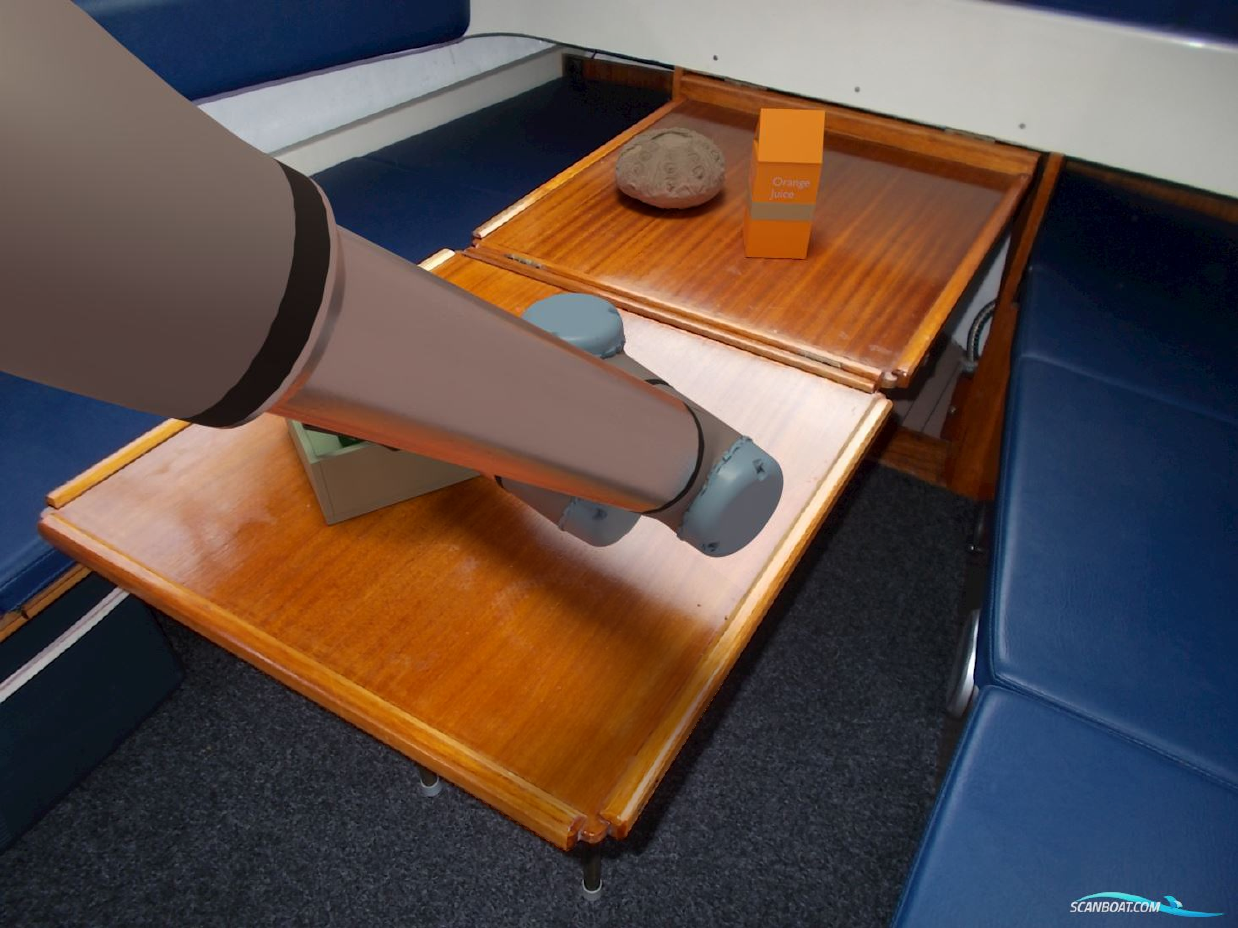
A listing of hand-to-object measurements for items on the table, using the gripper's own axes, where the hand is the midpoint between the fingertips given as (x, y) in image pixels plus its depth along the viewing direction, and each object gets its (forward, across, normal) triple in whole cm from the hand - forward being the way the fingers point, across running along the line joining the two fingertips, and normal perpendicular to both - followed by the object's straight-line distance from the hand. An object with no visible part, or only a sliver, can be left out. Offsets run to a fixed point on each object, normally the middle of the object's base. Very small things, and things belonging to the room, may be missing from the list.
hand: (344, 337), depth 85 cm
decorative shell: (+15, +70, -13) cm, 73 cm away
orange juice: (-8, +68, -13) cm, 69 cm away
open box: (-3, 0, -13) cm, 13 cm away
